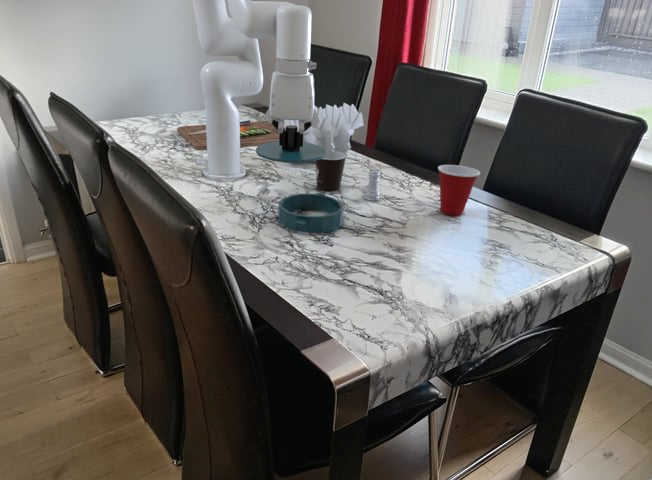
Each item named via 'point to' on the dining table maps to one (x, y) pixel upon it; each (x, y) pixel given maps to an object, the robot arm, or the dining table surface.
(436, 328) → the dining table surface
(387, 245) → the dining table surface
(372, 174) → the rook chess piece
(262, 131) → the chopping board
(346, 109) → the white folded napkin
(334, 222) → the pot
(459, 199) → the plastic cup
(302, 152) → the lid
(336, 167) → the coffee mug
